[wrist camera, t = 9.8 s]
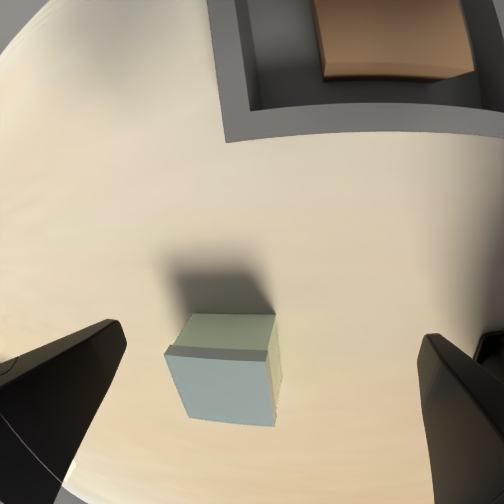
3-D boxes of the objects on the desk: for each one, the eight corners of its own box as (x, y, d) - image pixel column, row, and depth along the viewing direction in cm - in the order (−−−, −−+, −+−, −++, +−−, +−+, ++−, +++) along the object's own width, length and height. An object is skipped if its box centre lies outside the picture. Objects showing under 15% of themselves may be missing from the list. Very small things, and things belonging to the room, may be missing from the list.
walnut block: (432, 83, 12) (474, 70, 8) (323, 82, 14) (325, 62, 9) (411, -12, 10) (438, -51, 6) (305, -15, 12) (298, -61, 7)
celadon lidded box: (283, 377, 23) (274, 426, 18) (209, 373, 24) (188, 417, 20) (277, 312, 21) (265, 361, 16) (192, 311, 22) (163, 354, 18)
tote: (491, 135, 13) (533, 142, 9) (248, 139, 17) (225, 143, 12) (457, -29, 9) (484, -56, 5) (224, -30, 12) (199, -64, 8)
